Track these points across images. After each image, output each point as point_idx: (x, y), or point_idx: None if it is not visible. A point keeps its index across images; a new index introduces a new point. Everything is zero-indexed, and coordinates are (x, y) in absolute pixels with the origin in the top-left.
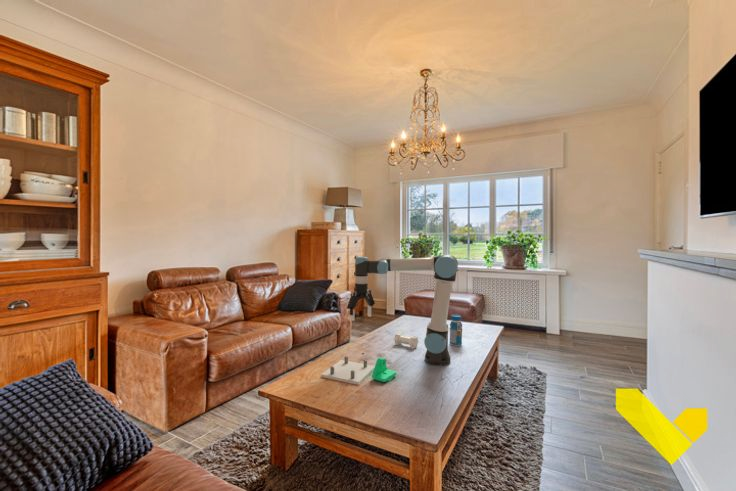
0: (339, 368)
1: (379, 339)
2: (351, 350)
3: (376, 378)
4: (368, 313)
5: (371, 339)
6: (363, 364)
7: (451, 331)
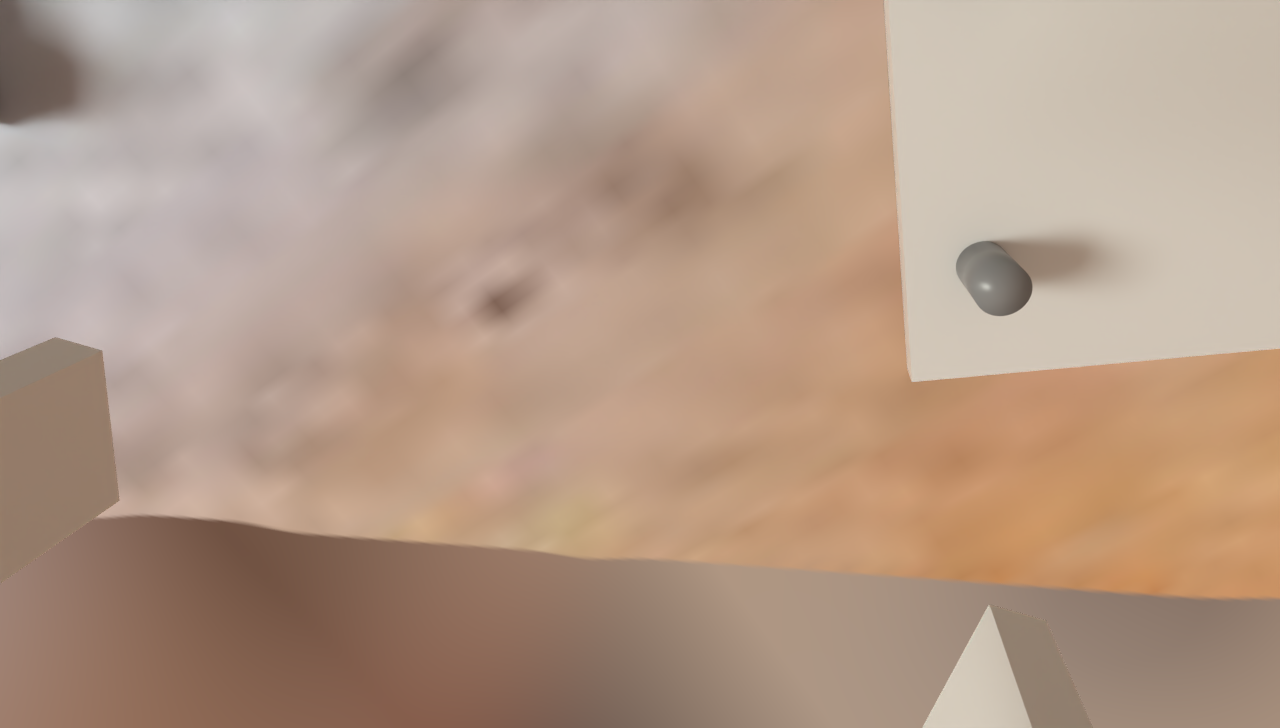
0: (1218, 230)
1: None
2: (516, 460)
3: None
4: (5, 524)
5: None
6: (909, 19)
7: None
